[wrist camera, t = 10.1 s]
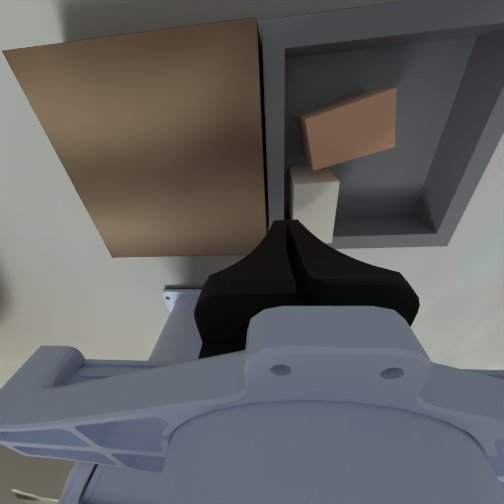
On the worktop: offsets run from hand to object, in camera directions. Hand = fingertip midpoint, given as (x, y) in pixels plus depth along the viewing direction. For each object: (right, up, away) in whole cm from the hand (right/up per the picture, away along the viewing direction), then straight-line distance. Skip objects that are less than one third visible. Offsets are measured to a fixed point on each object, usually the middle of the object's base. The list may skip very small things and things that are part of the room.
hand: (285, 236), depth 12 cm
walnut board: (-7, +6, +4) cm, 10 cm away
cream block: (+1, +2, +3) cm, 4 cm away
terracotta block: (+3, +7, 0) cm, 8 cm away
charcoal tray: (+5, +6, +3) cm, 9 cm away
